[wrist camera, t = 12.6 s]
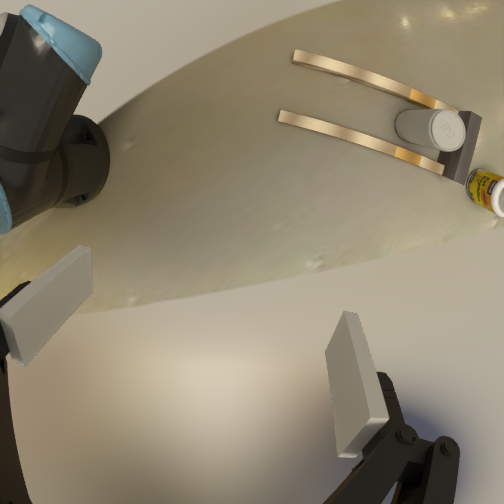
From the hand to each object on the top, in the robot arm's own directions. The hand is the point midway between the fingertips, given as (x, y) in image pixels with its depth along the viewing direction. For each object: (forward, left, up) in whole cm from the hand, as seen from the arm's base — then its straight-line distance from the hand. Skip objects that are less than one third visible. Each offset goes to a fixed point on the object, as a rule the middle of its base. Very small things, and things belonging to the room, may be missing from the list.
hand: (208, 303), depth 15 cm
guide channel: (+13, +14, -31) cm, 36 cm away
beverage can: (+19, +14, -31) cm, 39 cm away
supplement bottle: (+34, +10, -31) cm, 47 cm away
